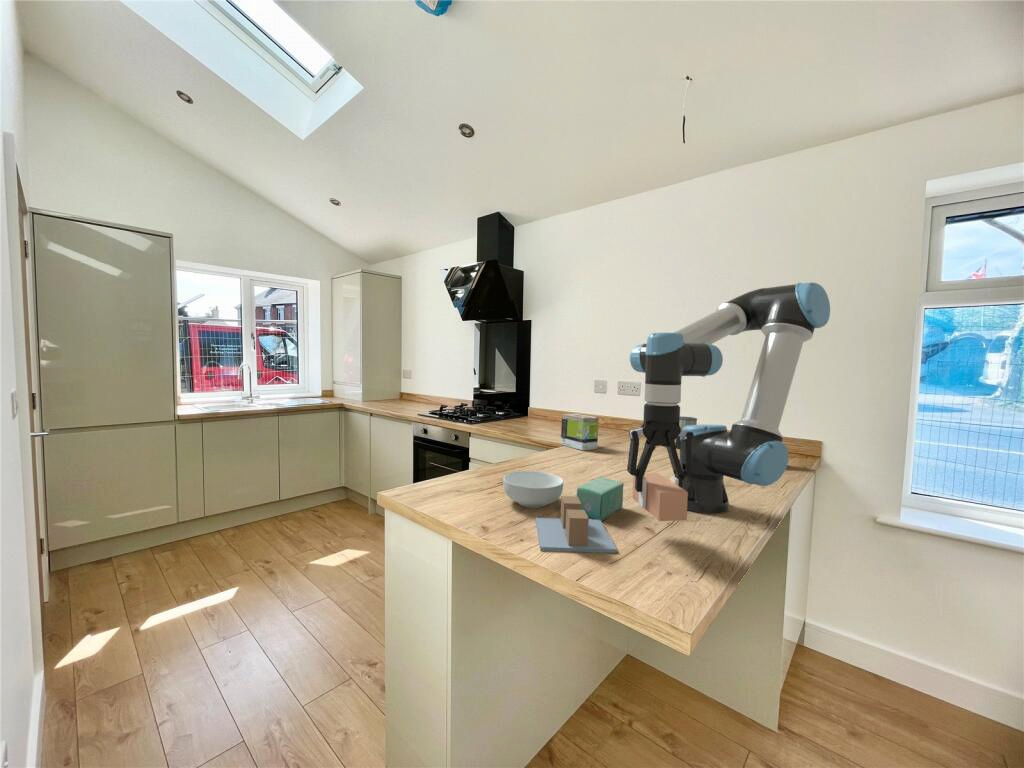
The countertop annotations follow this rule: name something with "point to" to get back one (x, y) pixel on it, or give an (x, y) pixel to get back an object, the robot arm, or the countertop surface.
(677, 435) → the robot arm
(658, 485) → the beam
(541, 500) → the cereal bowl
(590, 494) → the box
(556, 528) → the base
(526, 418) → the countertop surface
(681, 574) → the countertop surface
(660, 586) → the countertop surface
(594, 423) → the tea box
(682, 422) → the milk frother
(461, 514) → the countertop surface
